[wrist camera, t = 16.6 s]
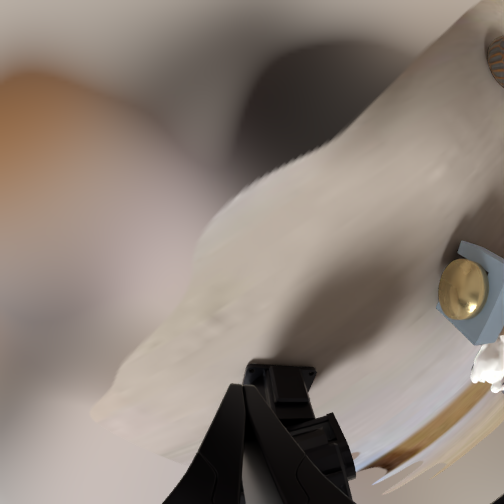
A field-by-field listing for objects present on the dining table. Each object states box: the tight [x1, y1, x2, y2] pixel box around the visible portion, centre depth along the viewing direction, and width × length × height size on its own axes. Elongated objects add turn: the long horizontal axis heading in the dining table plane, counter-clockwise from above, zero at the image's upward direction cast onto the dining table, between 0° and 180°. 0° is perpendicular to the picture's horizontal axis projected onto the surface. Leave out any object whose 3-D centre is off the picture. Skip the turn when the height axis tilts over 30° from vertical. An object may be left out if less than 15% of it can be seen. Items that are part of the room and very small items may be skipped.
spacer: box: [436, 240, 504, 346], centre depth 18 cm, size 4×7×6 cm, turn 170°
